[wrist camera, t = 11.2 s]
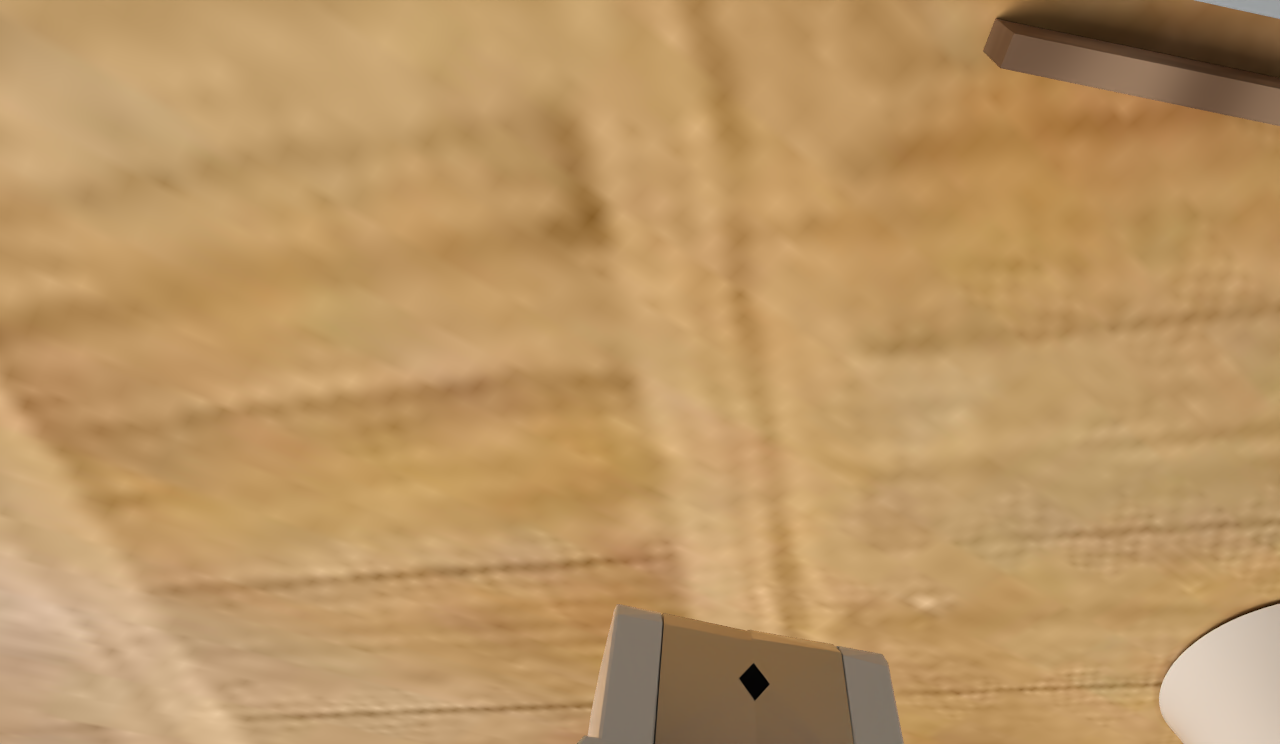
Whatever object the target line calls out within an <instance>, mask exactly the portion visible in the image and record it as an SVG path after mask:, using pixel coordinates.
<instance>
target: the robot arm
mask: <svg viewBox="0 0 1280 744" xmlns="http://www.w3.org/2000/svg"><path fill="white" fill-rule="evenodd" d="M1159 704H1160V710H1161V713H1162V715H1163V718H1164V720H1165V721H1166V723H1167V724H1168V726H1169V727H1170V728H1171V729H1172V730H1173V732H1174V733H1175V734H1176V735H1177V736H1178V738H1179V739H1180V740H1181V741H1182V742H1183V744H1280V604H1277V605H1273V606H1269V607H1266V608H1263V609H1260V610H1257V611H1254V612H1251V613H1248V614H1246V615H1243V616H1241V617H1238V618H1236V619H1234V620H1232V621H1230V622H1227V623H1225V624H1223V625H1222V626H1220V627H1218V628H1216V629H1214V630H1213V631H1211V632H1209V633H1208V634H1206V635H1205V636H1203V637H1202V638H1200V639H1199V640H1198V641H1196V642H1195V643H1194V644H1192V645H1191V646H1190V647H1189V648H1188V649H1187V650H1185V651H1184V652H1183V653H1182V654H1181V655H1180V656H1179V658H1178V659H1177V660H1176V661H1175V662H1174V664H1173V665H1172V666H1171V668H1170V669H1169V671H1168V672H1167V674H1166V676H1165V678H1164V680H1163V683H1162V685H1161V689H1160V695H1159ZM577 744H904V742H903V737H902V732H901V727H900V722H899V717H898V712H897V706H896V701H895V696H894V691H893V686H892V681H891V676H890V670H889V665H888V662H887V661H886V659H885V658H884V656H883V655H882V654H878V653H873V652H867V651H862V650H857V649H851V648H846V647H840V646H836V647H835V646H834V645H833V644H828V643H822V642H816V641H810V640H805V639H799V638H793V637H787V636H782V635H776V634H770V633H764V632H759V631H753V630H748V631H745V630H741V629H736V628H731V627H727V626H722V625H717V624H713V623H708V622H703V621H699V620H694V619H689V618H685V617H680V616H675V615H671V614H666V613H663V614H662V615H661V613H659V612H654V611H649V610H644V609H639V608H635V607H630V606H625V605H620V604H617V606H616V607H615V610H614V614H613V618H612V622H611V626H610V630H609V635H608V639H607V643H606V647H605V651H604V655H603V659H602V663H601V668H600V673H599V677H598V682H597V687H596V692H595V697H594V702H593V707H592V712H591V718H590V725H589V732H588V736H584V737H583V738H582V739H581V740H580V741H579V742H578V743H577Z"/></svg>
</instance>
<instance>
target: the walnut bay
mask: <svg viewBox="0 0 1280 744" xmlns="http://www.w3.org/2000/svg"><path fill="white" fill-rule="evenodd" d="M983 52H984V53H985V54H987V55H988V56H989V57H990V58H991V59H992V60H993V61H994V62H995V63H996V64H997V65H998V66H999V67H1000V68H1003V69H1008V70H1012V71H1017V72H1022V73H1027V74H1032V75H1037V76H1041V77H1046V78H1051V79H1056V80H1061V81H1065V82H1070V83H1075V84H1080V85H1085V86H1089V87H1094V88H1099V89H1104V90H1109V91H1114V92H1118V93H1123V94H1128V95H1133V96H1138V97H1142V98H1147V99H1152V100H1157V101H1162V102H1167V103H1171V104H1176V105H1181V106H1186V107H1191V108H1195V109H1200V110H1205V111H1210V112H1215V113H1220V114H1224V115H1229V116H1234V117H1239V118H1244V119H1248V120H1253V121H1258V122H1263V123H1268V124H1272V125H1277V126H1280V78H1277V77H1273V76H1268V75H1263V74H1258V73H1253V72H1249V71H1244V70H1239V69H1234V68H1230V67H1225V66H1220V65H1215V64H1210V63H1206V62H1201V61H1196V60H1191V59H1186V58H1182V57H1177V56H1172V55H1167V54H1163V53H1158V52H1153V51H1148V50H1143V49H1139V48H1134V47H1129V46H1124V45H1120V44H1115V43H1110V42H1105V41H1100V40H1096V39H1091V38H1086V37H1081V36H1077V35H1072V34H1067V33H1062V32H1057V31H1053V30H1048V29H1043V28H1038V27H1034V26H1029V25H1024V24H1019V23H1014V22H1010V21H1005V20H1000V19H995V22H994V24H993V27H992V30H991V32H990V35H989V37H988V40H987V43H986V45H985V48H984V50H983Z"/></svg>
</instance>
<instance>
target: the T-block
mask: <svg viewBox="0 0 1280 744" xmlns="http://www.w3.org/2000/svg"><path fill="white" fill-rule="evenodd" d="M1196 1H1200V2H1205V3H1210V4H1214V5H1219V6H1223V7H1228V8H1232V9H1237V10H1241V11H1246V12H1251V13H1255V14H1260V15H1264V16H1269V17H1273V18H1278V19H1280V0H1196Z"/></svg>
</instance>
